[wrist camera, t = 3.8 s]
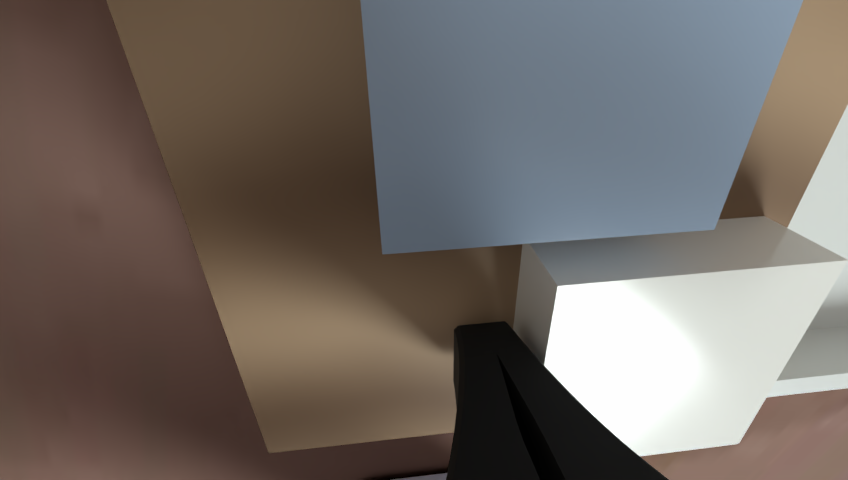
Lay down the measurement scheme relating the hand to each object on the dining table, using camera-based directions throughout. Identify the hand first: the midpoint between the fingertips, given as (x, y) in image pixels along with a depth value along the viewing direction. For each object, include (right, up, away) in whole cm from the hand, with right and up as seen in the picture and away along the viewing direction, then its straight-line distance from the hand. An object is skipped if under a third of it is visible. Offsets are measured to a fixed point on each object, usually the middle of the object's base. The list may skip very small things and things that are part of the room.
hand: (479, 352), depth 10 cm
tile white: (+4, +1, +1) cm, 4 cm away
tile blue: (+1, +6, -3) cm, 7 cm away
